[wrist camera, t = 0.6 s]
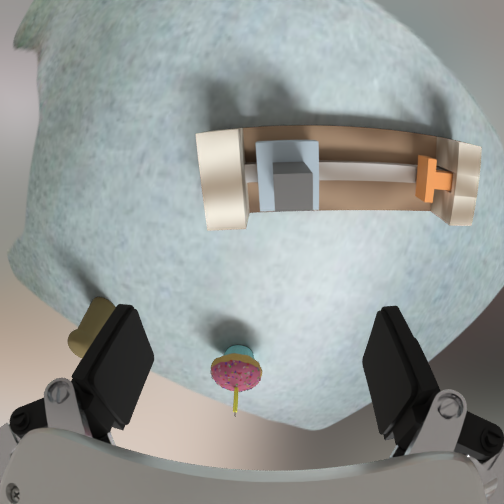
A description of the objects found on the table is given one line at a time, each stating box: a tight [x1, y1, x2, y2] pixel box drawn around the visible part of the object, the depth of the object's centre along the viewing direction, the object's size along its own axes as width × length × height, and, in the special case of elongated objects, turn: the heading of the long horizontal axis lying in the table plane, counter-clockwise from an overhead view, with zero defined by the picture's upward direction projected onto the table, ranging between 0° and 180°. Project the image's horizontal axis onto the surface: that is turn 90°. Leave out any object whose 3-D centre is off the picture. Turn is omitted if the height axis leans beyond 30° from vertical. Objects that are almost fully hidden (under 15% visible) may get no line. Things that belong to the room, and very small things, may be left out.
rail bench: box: [196, 125, 482, 231], centre depth 27 cm, size 10×32×6 cm, turn 94°
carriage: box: [256, 140, 319, 212], centre depth 25 cm, size 7×6×10 cm
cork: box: [68, 297, 116, 358], centre depth 39 cm, size 6×6×11 cm
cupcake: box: [211, 345, 262, 417], centre depth 40 cm, size 9×8×12 cm
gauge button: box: [415, 155, 453, 203], centre depth 25 cm, size 5×6×2 cm
